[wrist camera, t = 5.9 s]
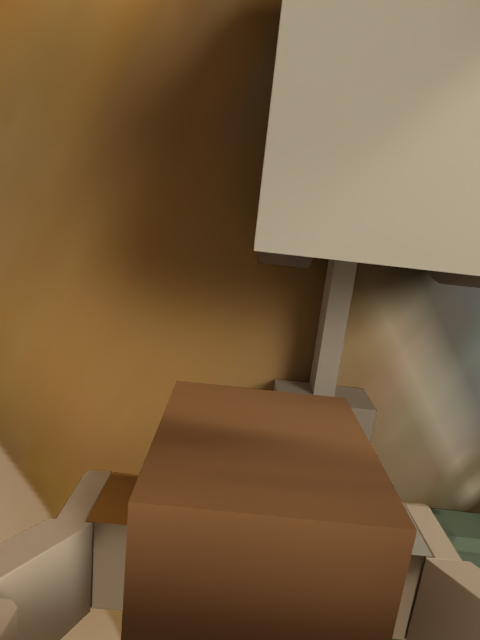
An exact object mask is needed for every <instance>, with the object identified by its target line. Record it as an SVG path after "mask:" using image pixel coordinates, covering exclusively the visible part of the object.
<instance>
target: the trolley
mask: <svg viewBox="0 0 480 640" xmlns="http://www.w3.org/2000/svg"><path fill="white" fill-rule="evenodd" d="M254 251H258V252H257V263H262V264H271V265H280V266H289V267H298V268H309V266H310V265H311V263H312V261H313V258H323V259H329V261H328V267H327V274H326V280H325V286H324V293H323V299H322V305H321V312H320V318H319V325H318V331H317V337H316V344H315V350H314V356H313V363H312V369H311V375H310V382H309V383H308V382H299V381H290V380H281V379H275V383H274V390H273V391H280V392H290V393H300V394H310V395H320V396H329V397H339V398H346V400H347V401H348V403H349V405H350V407H351V409H352V411H353V413H354V414H355V416H356V418H357V420H358V422H359V424H360V426H361V427H362V429H363V431H364V433H365V435H366V437H367V438H368V440H369V442H371V437H372V432H373V427H374V422H375V417H376V412H377V410H376V408H375V407H374V405H373V404H372V402H371V400H370V399H369V397H368V395H367V394H366V392H365V391H364V389H361V388H353V387H344V386H336V384H337V379H338V373H339V367H340V361H341V356H342V350H343V344H344V338H345V333H346V327H347V321H348V315H349V309H350V304H351V298H352V292H353V286H354V281H355V275H356V269H357V263H358V262H359V263H368V264H377V265H386V266H394V267H403V268H412V269H421V270H428V271H429V273H430V275H431V276H432V278H433V279H434V280H435V281H437V282H439V283H442V284H450V285H459V286H468V287H477V288H480V0H282V5H281V14H280V22H279V31H278V40H277V48H276V57H275V66H274V75H273V83H272V92H271V101H270V109H269V118H268V127H267V135H266V144H265V153H264V161H263V170H262V179H261V188H260V196H259V205H258V214H257V222H256V231H255V240H254Z"/></svg>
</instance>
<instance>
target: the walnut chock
mask: <svg viewBox="0 0 480 640" xmlns="http://www.w3.org/2000/svg"><path fill="white" fill-rule="evenodd" d="M416 533H417V529H416V527H415V525H414V524H413V522H412V520H411V518H410V516H409V514H408V512H407V511H406V509H405V507H404V505H403V503H402V501H401V500H400V498H399V496H398V494H397V492H396V490H395V488H394V487H393V485H392V483H391V481H390V479H389V477H388V475H387V474H386V472H385V470H384V468H383V466H382V464H381V463H380V461H379V459H378V457H377V455H376V453H375V451H374V450H373V448H372V446H371V444H370V442H369V440H368V438H367V437H366V435H365V433H364V431H363V429H362V427H361V426H360V424H359V422H358V420H357V418H356V416H355V414H354V413H353V411H352V409H351V407H350V405H349V403H348V401H347V400H346V398H339V397H329V396H320V395H310V394H300V393H290V392H280V391H271V390H261V389H251V388H241V387H231V386H221V385H212V384H202V383H192V382H182V381H177V382H176V384H175V387H174V389H173V392H172V394H171V397H170V399H169V402H168V404H167V407H166V409H165V412H164V414H163V417H162V419H161V422H160V424H159V427H158V429H157V432H156V434H155V437H154V439H153V442H152V444H151V447H150V449H149V452H148V454H147V457H146V459H145V462H144V464H143V467H142V469H141V472H140V474H139V477H138V479H137V482H136V484H135V487H134V489H133V491H132V494H131V496H130V499H129V501H128V517H127V537H126V556H125V575H124V595H123V614H122V633H121V640H392V637H393V633H394V628H395V624H396V620H397V615H398V611H399V607H400V602H401V598H402V594H403V589H404V585H405V581H406V576H407V572H408V568H409V563H410V559H411V555H412V550H413V546H414V542H415V537H416Z"/></svg>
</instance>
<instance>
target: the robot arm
mask: <svg viewBox="0 0 480 640" xmlns="http://www.w3.org/2000/svg"><path fill="white" fill-rule="evenodd" d="M138 477H139V475H133V474H125V473H117V472H113V473H112V472H110V471H100V470H88V471H86V472H85V473H84V475H83V476H82V478H81V480H80V481H79V483H78V484H77V486H76V488H75V489H74V491H73V492H72V494H71V496H70V497H69V499H68V500H67V502H66V503H65V505H64V507H63V508H62V510H61V511H60V513H59V515H58V516H57V518H56V519H51V518H48V519H46V520H44V521H43V522H41V523H39V524H37V525H35V526H33V527H31V528H29V529H27V530H25V531H23V532H22V533H20V534H18V535H16V536H14V537H12V538H10V539H8V540H6V541H4V542H3V543H1V544H0V640H60V639H61V638H62V637H63V636H65V635H66V633H68V632H69V631H70V630H71V629H72V628H73V627H74V626H75V625H76V624H77V623H78V622H79V621H80V620H81V619H82V618H83V617H84V616H86V615H87V614H88V613H89V612H90V608H97V609H111V610H123V595H124V575H125V556H126V537H127V517H128V501H129V499H130V496H131V494H132V491H133V489H134V487H135V484H136V482H137V479H138ZM402 503H403V505H404V507H405V509H406V511H407V512H408V514H409V516H410V518H411V520H412V522H413V524H414V525H415V527H416V529H417V533H416V537H415V542H414V546H413V550H412V555H411V559H410V563H409V568H408V572H407V576H406V581H405V585H404V589H403V594H402V598H401V602H400V607H399V611H398V615H397V620H396V624H395V628H394V633H393V637H392V638H393V639H400V640H480V568H478V567H477V566H476V565H474V564H473V563H471V562H468V561H462V559H461V558H460V556H459V555H458V553H457V551H456V550H455V548H454V546H453V545H452V543H451V542H450V540H449V538H448V537H447V535H446V534H445V532H444V530H443V529H442V527H441V525H440V524H439V522H438V521H437V519H436V517H435V516H434V514H433V513H432V511H431V509H430V508H429V507H428V506H427V505H425V504H421V503H406V502H402Z"/></svg>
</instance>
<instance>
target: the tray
mask: <svg viewBox="0 0 480 640" xmlns="http://www.w3.org/2000/svg"><path fill="white" fill-rule="evenodd" d="M430 509H431V511H432V513H433V514H434V516H435V517H436V519H437V521H438V522H439V524H440V525H441V527H442V529H443V530H444V532H445V534H446V535H447V537H448V538H449V540H450V542H451V543H452V545H453V546H454V548H455V550H456V551H457V553H458V555H459V556H460V558H461V559H462V561H468V562H471V563H473V564H474V565H476V566H477V567H478V568H480V514H479V513H470V512H461V511H452V510H443V509H434V508H430ZM392 640H400V639H393V638H392Z"/></svg>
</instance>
